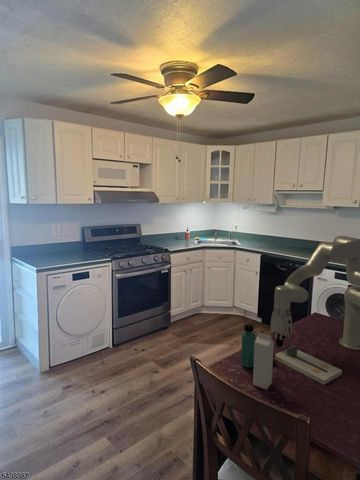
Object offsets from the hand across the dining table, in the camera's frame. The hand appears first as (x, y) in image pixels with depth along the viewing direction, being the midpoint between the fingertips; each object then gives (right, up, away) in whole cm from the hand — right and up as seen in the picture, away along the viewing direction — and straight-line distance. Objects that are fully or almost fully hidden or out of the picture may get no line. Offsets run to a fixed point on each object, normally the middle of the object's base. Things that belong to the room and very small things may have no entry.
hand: (279, 346), depth 158 cm
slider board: (+9, -5, -12) cm, 16 cm away
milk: (-15, -7, -26) cm, 31 cm away
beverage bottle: (-19, -6, -12) cm, 23 cm away
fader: (+4, -2, -6) cm, 7 cm away
